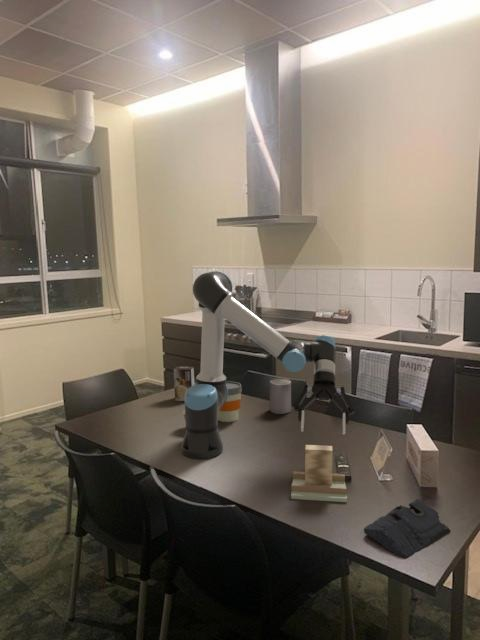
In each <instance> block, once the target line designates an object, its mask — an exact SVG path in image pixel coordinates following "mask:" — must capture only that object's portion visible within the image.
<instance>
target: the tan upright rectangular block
mask: <svg viewBox="0 0 480 640" xmlns="http://www.w3.org/2000/svg"><path fill="white" fill-rule="evenodd" d="M304 449H305V450H304V451H305V452H304V455H305V457H304V460H305V461H304V463H305V464H304V467H305V468H304V469H305V470H304V472H305V484H315V485H332V473H333V454H334V453H333V445H321V444H320V445H318V444H305V448H304Z"/></svg>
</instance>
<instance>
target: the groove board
mask: <svg viewBox="0 0 480 640" xmlns="http://www.w3.org/2000/svg"><path fill="white" fill-rule="evenodd" d="M290 485H291V492H290V499H291V500H305V501H321V502H335V503H336V502H337V503H347V502H348V496H347V490H348V489H347V485H346V474H345V473H333V472H332V485H315V484H305V471H296V470H295V471H294V470H293V471H292V483H291V484H290Z"/></svg>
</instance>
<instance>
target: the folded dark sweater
mask: <svg viewBox="0 0 480 640" xmlns="http://www.w3.org/2000/svg"><path fill="white" fill-rule="evenodd" d="M408 506H409V507H407V506H405V505H402V504H401V505H399V506H396V507H395V508H393V509H391V511H389V512H388V513H387V514H386V515H383V516H381V517H379V518H377V519H376V520H374V521H373V522H372V523H369V524H368V525H366V526H365V527H364V528H363V532H364V534H365V535H366V536H369V537H370V538H371V539H372V540H374V541H375V542H377V543H379V545H381V546H383V548H384V549H386V550H388V551H389V552H391V553H393V554H394V555H395V556H398V557H400V558H404V559H408V558H411V557H412V556H414V555H415V554H416V553H419V552H421V551H422V550H424V549H426V548H427V547H428V548H429V546H431V545H432V544H434V543H436V542H437V541H439V540H440V539H441V538H443V537H445V536H446V535H448V534H449V533H451V529H450V528H449V526H447V525H445V523H442V522H441V521H440V519H439V518H440V516H439V513H438V512H437V511H436V509H434V508H432V507H431V506H429V505H428V504H425V503H424V502H423V501H422V500H421V499H418V498H417V499H415V500H414V501H411V502H410V503H409V504H408Z"/></svg>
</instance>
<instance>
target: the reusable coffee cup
mask: <svg viewBox="0 0 480 640" xmlns="http://www.w3.org/2000/svg"><path fill="white" fill-rule="evenodd" d="M226 385H227V388H228V397H227V399H226V402H225V403H224V405H223V406H222V407H221V408H220V410H219V411H218V422H222V423H231V422H236V421H238V420H239V414H240V413H239V412H240V408H241V402H242V396H241V395H242V392H243V390H242V389H243V388H242V384H241V383H240V382H238V381H237V382H236V381H229V380H228V381H227V380H226Z"/></svg>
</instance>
